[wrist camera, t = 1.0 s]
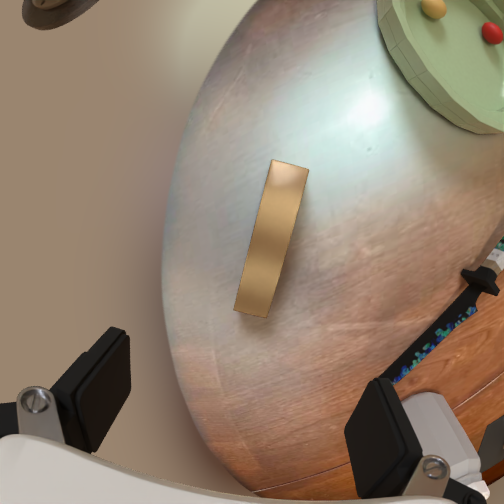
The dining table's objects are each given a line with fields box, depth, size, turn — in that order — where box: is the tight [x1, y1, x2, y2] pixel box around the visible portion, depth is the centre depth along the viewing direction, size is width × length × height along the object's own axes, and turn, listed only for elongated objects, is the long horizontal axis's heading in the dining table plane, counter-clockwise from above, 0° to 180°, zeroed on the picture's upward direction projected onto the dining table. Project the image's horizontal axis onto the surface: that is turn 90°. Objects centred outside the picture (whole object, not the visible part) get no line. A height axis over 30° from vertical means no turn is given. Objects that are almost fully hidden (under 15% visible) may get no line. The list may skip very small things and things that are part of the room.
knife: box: [378, 236, 504, 385], centre depth 26 cm, size 31×3×4 cm, turn 140°
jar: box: [401, 392, 490, 499], centre depth 24 cm, size 10×10×18 cm
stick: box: [234, 160, 309, 318], centre depth 26 cm, size 13×3×3 cm, turn 166°
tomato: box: [482, 22, 503, 45], centre depth 17 cm, size 3×3×3 cm
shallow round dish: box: [377, 0, 504, 134], centre depth 18 cm, size 21×21×5 cm
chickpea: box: [421, 0, 447, 19], centre depth 18 cm, size 3×3×3 cm
